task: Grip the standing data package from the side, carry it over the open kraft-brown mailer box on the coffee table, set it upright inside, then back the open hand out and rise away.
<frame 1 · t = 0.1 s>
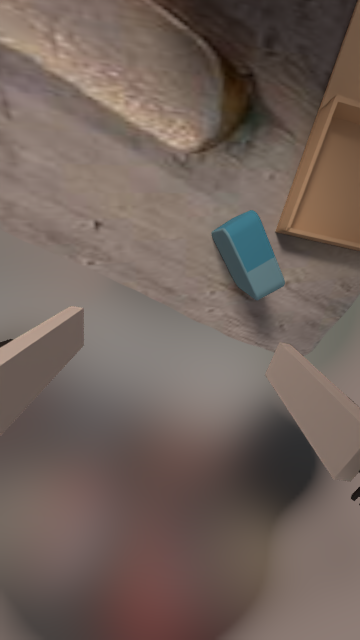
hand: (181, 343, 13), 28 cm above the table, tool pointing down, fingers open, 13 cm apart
data package: (233, 254, 37), on the table
mailer box: (345, 190, 33), on the table
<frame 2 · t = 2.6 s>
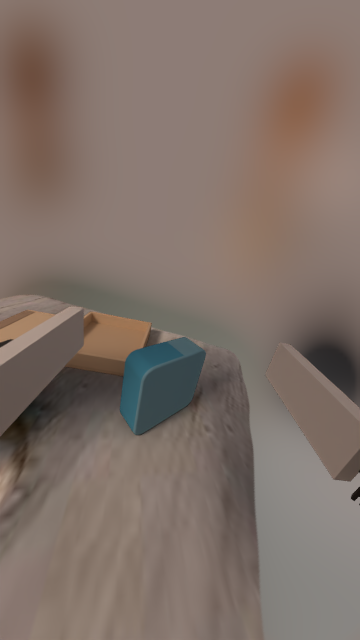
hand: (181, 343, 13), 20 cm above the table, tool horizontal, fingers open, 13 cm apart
data package: (157, 410, 32), on the table
mailer box: (108, 345, 45), on the table
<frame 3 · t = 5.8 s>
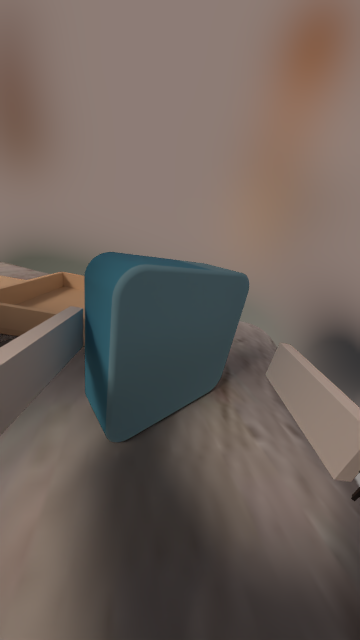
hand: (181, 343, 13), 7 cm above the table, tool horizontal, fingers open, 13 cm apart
data package: (160, 396, 18), on the table, touching gripper
mailer box: (83, 312, 31), on the table
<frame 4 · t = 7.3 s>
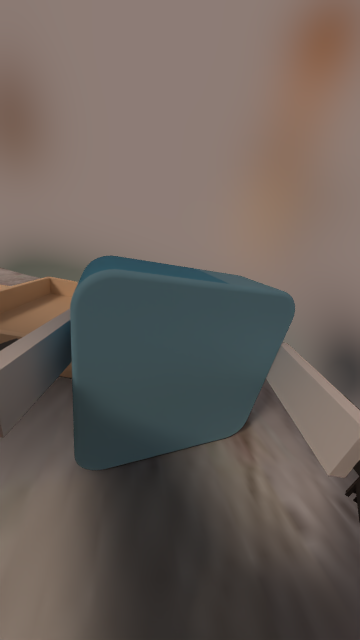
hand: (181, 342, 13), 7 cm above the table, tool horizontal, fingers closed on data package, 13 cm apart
data package: (163, 426, 15), on the table, touching gripper
mailer box: (70, 326, 26), on the table
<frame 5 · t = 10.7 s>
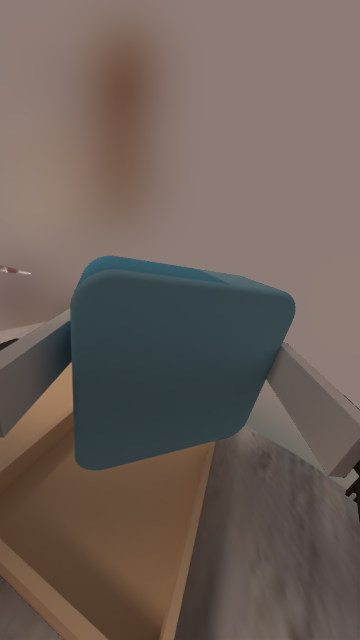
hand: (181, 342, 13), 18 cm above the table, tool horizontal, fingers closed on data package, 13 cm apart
data package: (163, 426, 15), point 11 cm above the table, touching gripper
mailer box: (124, 468, 21), on the table
when the fingers open (9 cm above the table, at t = 14.1 s): data package drops 1 cm, resting on mailer box.
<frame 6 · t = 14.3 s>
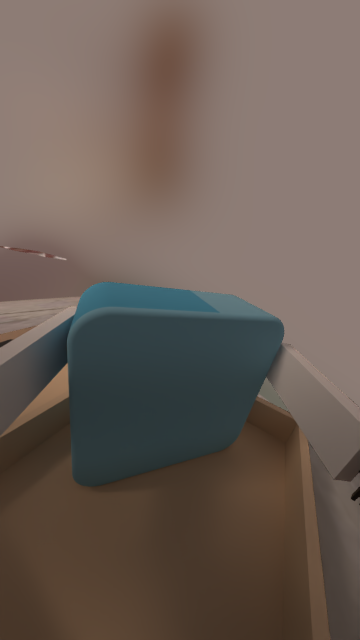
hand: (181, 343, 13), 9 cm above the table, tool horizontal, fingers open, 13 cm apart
data package: (159, 439, 15), point 1 cm above the table, touching gripper, mailer box
mailer box: (156, 484, 13), on the table
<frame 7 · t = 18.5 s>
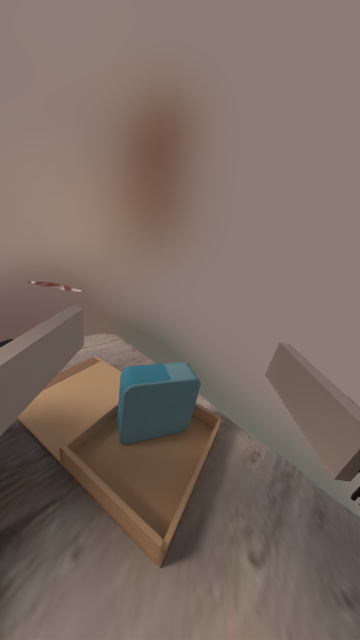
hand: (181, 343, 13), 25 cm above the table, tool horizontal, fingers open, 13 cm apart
data package: (152, 427, 33), point 1 cm above the table, touching mailer box
mailer box: (151, 445, 31), on the table
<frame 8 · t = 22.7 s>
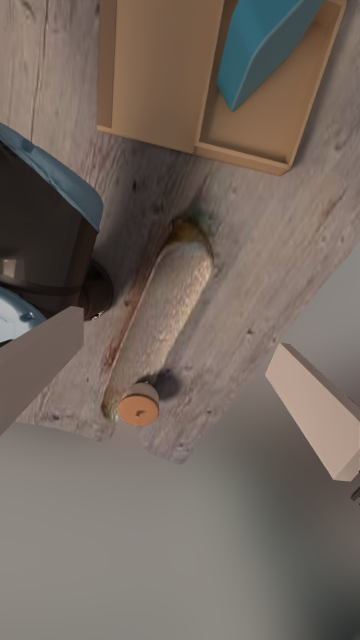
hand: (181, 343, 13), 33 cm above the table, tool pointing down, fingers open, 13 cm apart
data package: (252, 72, 30), point 1 cm above the table, touching mailer box
mailer box: (254, 97, 32), on the table
lidded jar: (143, 389, 56), on the table
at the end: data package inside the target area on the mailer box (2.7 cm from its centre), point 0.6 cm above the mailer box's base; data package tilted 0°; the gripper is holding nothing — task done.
